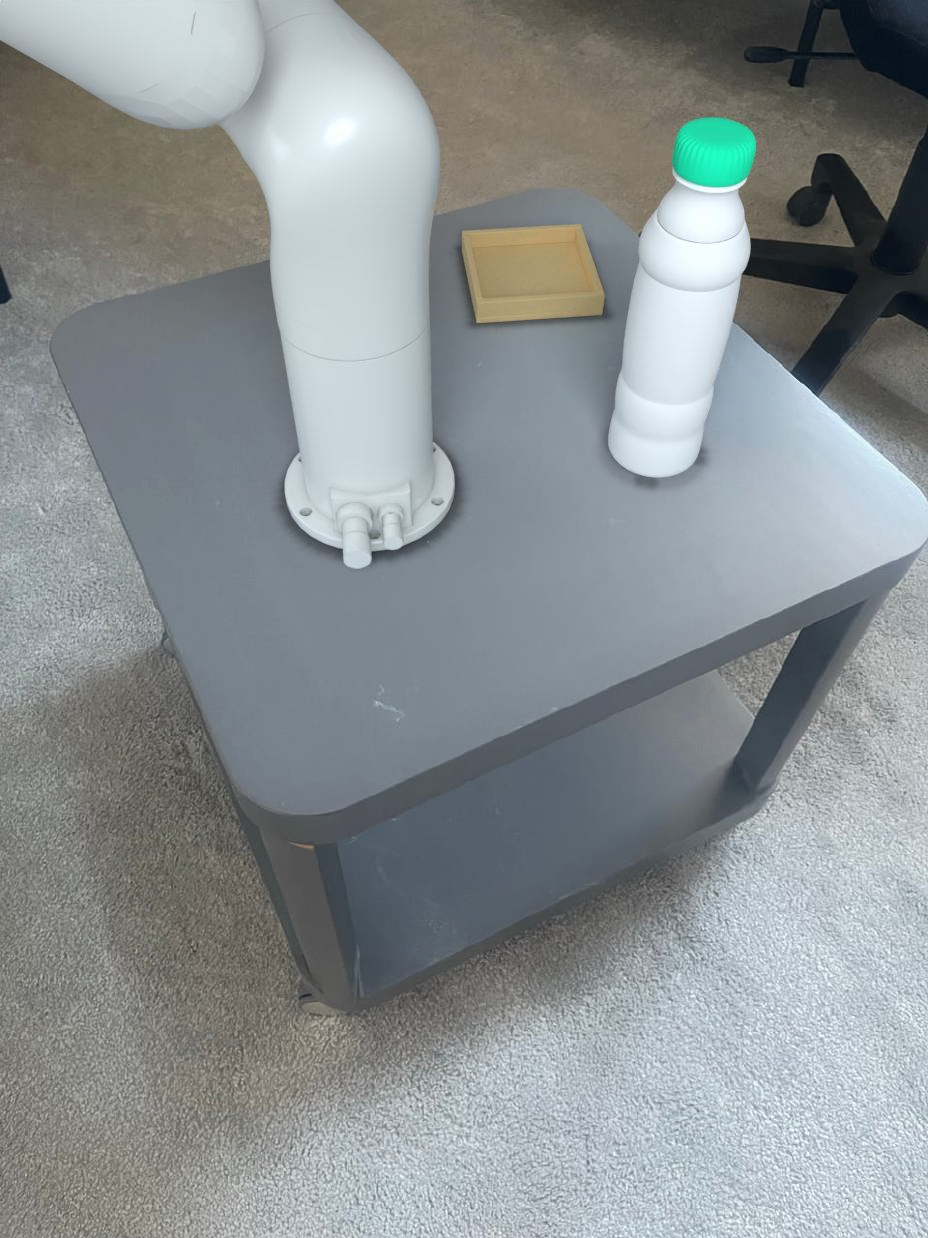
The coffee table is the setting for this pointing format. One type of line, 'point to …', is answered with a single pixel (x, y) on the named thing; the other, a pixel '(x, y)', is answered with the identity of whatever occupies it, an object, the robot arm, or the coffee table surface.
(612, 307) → the coffee table surface
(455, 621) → the coffee table surface
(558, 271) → the tray
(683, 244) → the water bottle
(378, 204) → the robot arm
